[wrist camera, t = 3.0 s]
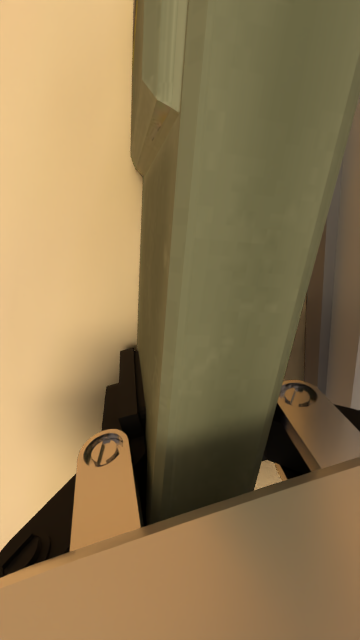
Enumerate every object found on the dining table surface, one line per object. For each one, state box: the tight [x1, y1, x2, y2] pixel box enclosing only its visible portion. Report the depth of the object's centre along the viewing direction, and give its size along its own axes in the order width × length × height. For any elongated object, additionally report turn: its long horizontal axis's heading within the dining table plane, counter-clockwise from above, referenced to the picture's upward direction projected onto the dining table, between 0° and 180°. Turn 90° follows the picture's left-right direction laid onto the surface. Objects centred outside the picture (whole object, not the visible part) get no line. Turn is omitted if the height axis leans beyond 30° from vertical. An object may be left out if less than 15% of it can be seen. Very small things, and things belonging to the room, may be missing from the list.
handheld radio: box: [131, 0, 360, 526], centre depth 9 cm, size 7×3×25 cm
